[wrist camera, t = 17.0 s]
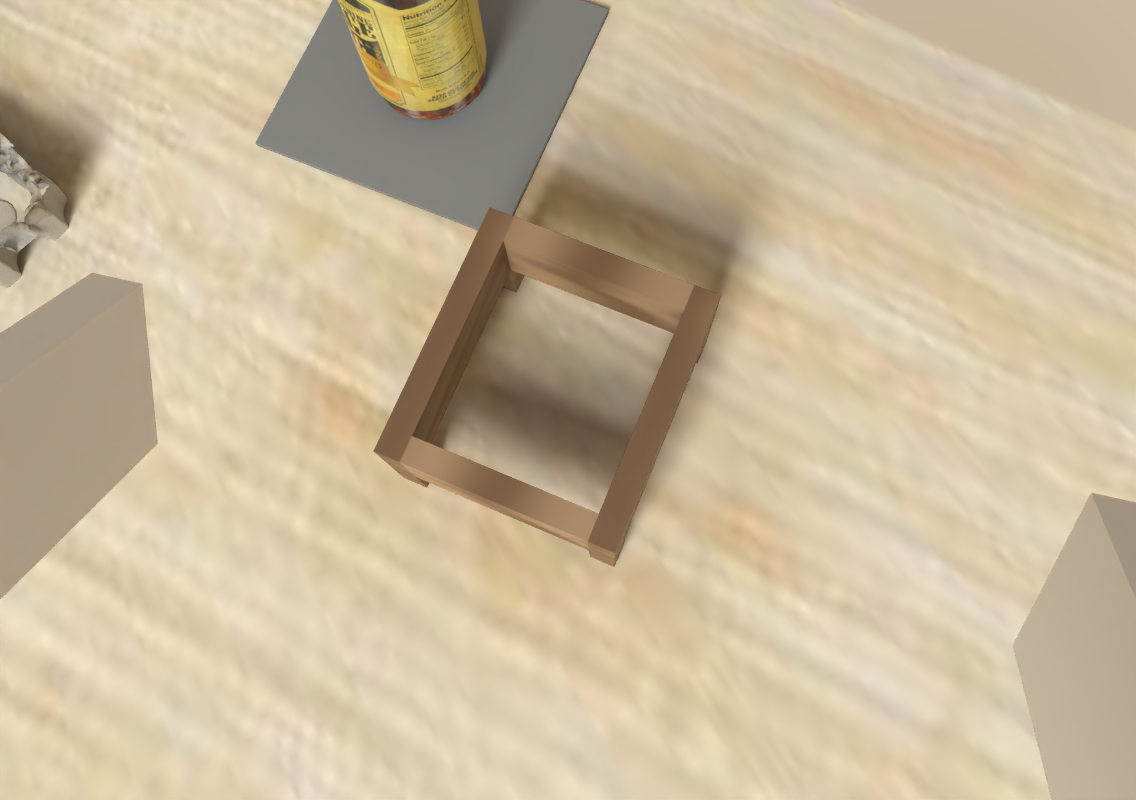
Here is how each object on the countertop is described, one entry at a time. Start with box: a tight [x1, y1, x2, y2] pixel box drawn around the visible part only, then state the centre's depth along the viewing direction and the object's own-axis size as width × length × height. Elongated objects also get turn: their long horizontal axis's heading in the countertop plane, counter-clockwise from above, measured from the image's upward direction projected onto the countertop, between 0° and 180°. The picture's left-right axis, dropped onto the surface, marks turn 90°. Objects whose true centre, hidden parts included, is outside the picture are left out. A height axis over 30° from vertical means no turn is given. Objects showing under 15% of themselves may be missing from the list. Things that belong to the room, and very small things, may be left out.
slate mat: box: [256, 0, 608, 230], centre depth 53 cm, size 14×14×1 cm
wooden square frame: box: [374, 207, 721, 566], centre depth 45 cm, size 11×12×6 cm
